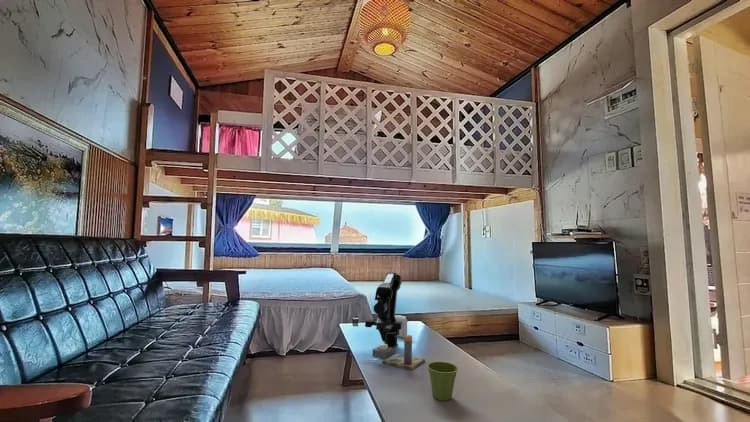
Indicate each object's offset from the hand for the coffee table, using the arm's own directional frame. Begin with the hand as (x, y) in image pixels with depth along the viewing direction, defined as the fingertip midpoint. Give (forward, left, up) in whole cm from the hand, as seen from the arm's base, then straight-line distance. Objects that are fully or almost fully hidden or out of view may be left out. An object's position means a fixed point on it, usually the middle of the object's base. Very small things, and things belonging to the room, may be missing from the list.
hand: (383, 341), depth 188 cm
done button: (0, 0, -5) cm, 5 cm away
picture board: (+14, -4, -7) cm, 16 cm away
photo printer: (-10, +36, -7) cm, 38 cm away
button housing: (0, 0, -7) cm, 7 cm away
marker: (+18, -8, -5) cm, 20 cm away
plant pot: (+44, -29, -7) cm, 53 cm away
